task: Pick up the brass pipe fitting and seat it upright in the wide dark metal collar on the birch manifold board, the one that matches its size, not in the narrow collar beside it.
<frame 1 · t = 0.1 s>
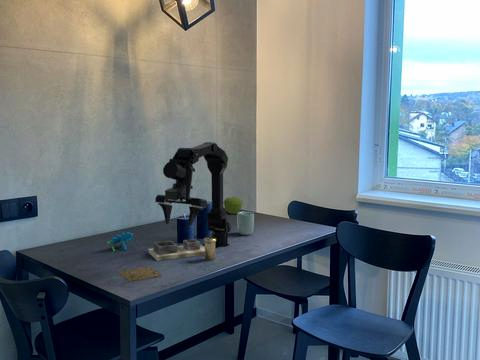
hand: (178, 225, 173), 15 cm above the table, tool pointing down, fingers open, 9 cm apart
manifold board: (179, 253, 192), on the table
fitting: (209, 259, 185), on the table
blue green toy animal: (120, 249, 197), on the table
apple: (232, 213, 275), on the table
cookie: (140, 275, 166), on the table
cup: (245, 234, 226), on the table
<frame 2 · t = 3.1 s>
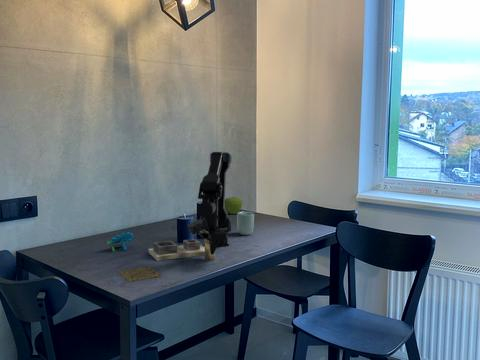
hand: (209, 252, 185), 3 cm above the table, tool pointing down, fingers closed on fitting, 4 cm apart
fitting: (209, 259, 185), on the table, touching gripper
everything else where it was.
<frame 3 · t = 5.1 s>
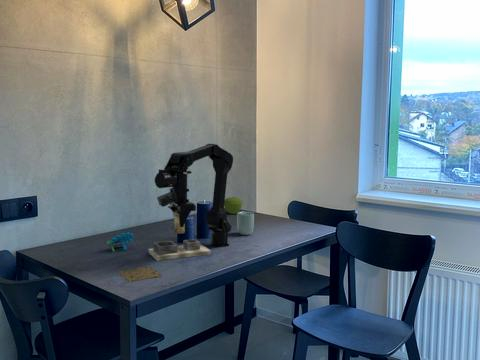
hand: (179, 225, 186), 12 cm above the table, tool pointing down, fingers closed on fitting, 4 cm apart
fitting: (179, 232, 186), point 10 cm above the table, touching gripper
everything else where it was.
when the fingers open (5 cm above the table, at t = 7.4 s): fitting drops 1 cm, resting on manifold board.
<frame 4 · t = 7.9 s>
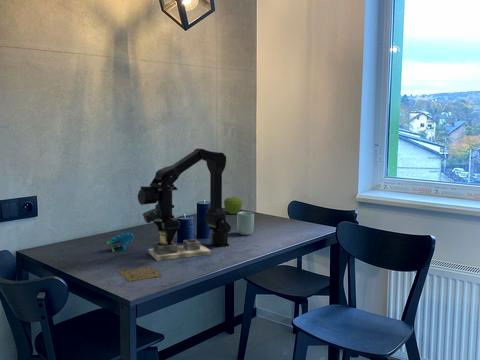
hand: (165, 241, 189), 5 cm above the table, tool pointing down, fingers open, 9 cm apart
fitting: (165, 251, 189), point 1 cm above the table, touching manifold board
everything else where it was.
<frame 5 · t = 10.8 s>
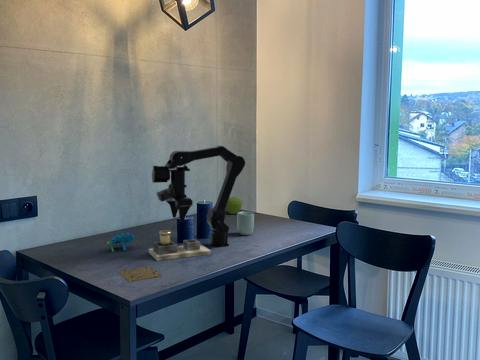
hand: (177, 219, 198), 12 cm above the table, tool pointing down, fingers open, 9 cm apart
at the end: fitting 0.0 cm from the target spot on the manifold board, point 1.5 cm above the manifold board's base; fitting tilted 0°; the gripper is holding nothing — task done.
